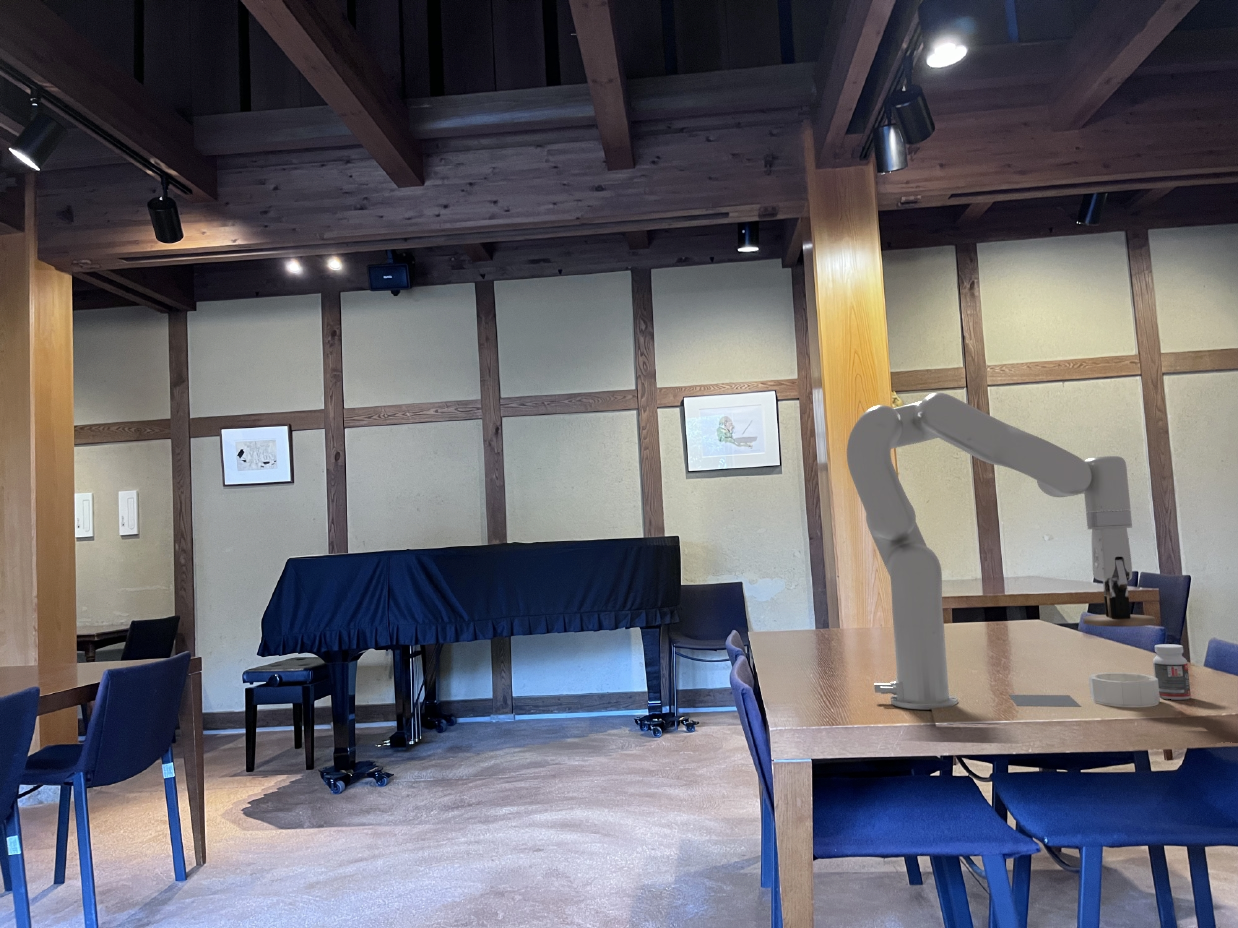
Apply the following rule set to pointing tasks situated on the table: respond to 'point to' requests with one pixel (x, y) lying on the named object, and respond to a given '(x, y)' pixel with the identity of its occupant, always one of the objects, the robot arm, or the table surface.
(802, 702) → the table surface
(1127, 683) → the bowl
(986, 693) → the table surface
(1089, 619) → the lid
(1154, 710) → the table surface
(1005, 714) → the table surface
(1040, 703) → the mat
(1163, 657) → the pill bottle
